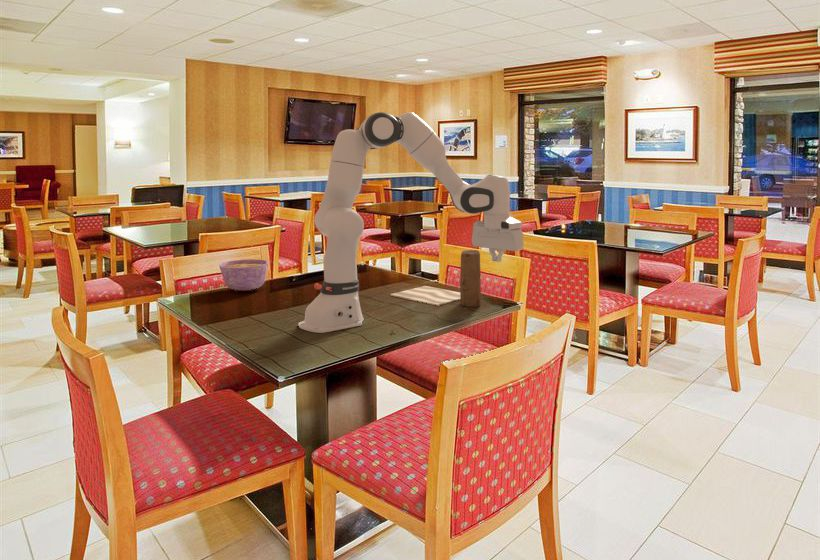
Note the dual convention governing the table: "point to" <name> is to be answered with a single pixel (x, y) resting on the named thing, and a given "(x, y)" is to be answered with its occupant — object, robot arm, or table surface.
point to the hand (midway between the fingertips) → (496, 261)
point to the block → (470, 278)
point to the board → (429, 295)
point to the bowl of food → (244, 273)
